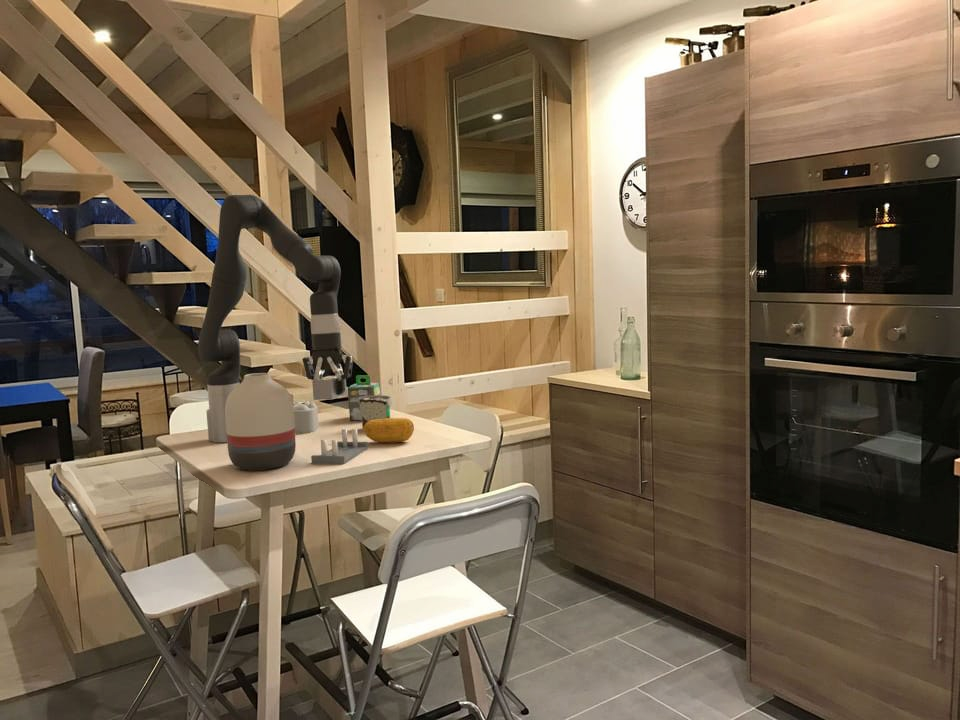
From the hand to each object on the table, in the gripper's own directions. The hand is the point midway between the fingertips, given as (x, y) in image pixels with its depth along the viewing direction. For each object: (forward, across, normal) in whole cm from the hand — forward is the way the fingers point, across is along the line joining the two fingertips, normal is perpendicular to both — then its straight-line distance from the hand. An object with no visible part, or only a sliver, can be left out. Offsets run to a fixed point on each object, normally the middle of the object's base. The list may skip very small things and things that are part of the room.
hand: (330, 394), depth 206 cm
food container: (+16, -1, +37) cm, 40 cm away
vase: (+17, -15, -11) cm, 25 cm away
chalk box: (+16, -12, +53) cm, 56 cm away
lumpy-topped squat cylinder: (+16, -26, +34) cm, 45 cm away
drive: (+1, 0, 0) cm, 1 cm away
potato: (+17, +10, +17) cm, 26 cm away
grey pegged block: (+17, +2, 0) cm, 17 cm away
